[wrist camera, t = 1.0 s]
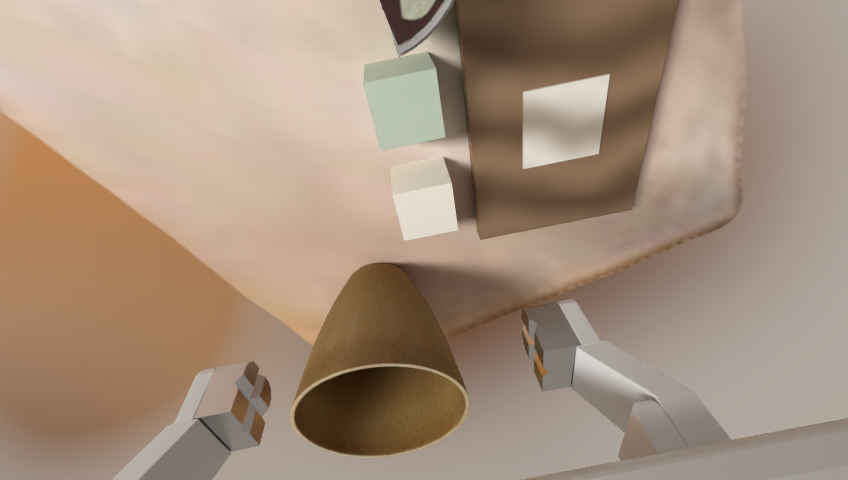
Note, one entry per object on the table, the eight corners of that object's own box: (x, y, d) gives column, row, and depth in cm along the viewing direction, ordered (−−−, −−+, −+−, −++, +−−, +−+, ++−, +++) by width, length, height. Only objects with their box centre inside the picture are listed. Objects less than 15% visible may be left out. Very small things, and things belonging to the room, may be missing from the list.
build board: (454, -9, 27) (458, -6, 25) (676, -56, 26) (692, -56, 25) (477, 231, 40) (480, 240, 39) (623, 202, 40) (632, 210, 39)
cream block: (390, 166, 35) (392, 194, 31) (442, 155, 35) (451, 182, 31) (401, 210, 38) (404, 240, 34) (449, 200, 38) (458, 230, 34)
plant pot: (461, 297, 47) (493, 426, 34) (359, 339, 50) (354, 471, 37) (407, 212, 38) (424, 342, 26) (286, 268, 41) (248, 410, 28)
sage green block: (364, 64, 29) (363, 83, 25) (427, 51, 29) (435, 68, 25) (379, 125, 32) (380, 150, 28) (436, 114, 32) (445, 137, 28)
